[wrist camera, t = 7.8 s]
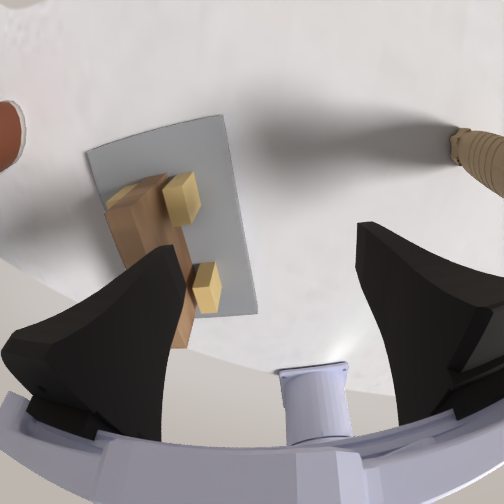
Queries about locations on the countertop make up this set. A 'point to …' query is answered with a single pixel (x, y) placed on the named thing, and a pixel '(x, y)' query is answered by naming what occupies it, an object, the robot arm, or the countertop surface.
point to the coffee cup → (11, 133)
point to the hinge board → (190, 204)
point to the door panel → (153, 239)
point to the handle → (480, 157)
